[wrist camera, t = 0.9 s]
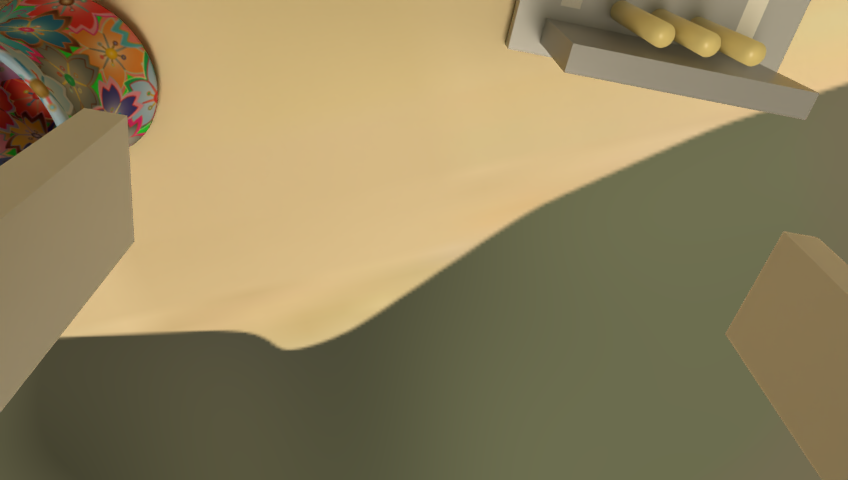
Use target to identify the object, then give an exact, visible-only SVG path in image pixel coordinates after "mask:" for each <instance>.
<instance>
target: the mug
mask: <svg viewBox="0 0 848 480" xmlns="http://www.w3.org/2000/svg"><path fill="white" fill-rule="evenodd" d="M157 101H158V87H157V80H156V75H155V72H154V68H153V65H152V63H151V60H150V58H149V56H148V54H147V52H146V50H145V49H144V47H143V45H142V44H141V42H140V41H139V39H138V38H137V37H136V35H135V34H134V33H133V32H132V31H131V29H130V28H129V27H128V26H127V25H126V24H125V23H124V22H123V21H122V20H120V19H119V18H118V17H117V16H116V15H114V14H113V13H112V12H110V11H109V10H107V9H106V8H104V7H103V6H101V5H99V4H97V3H95V2H93V1H91V0H13V1H11V2H10V3H8V4H7V5H6V6H5V7H4V8H3V9H2V10H1V11H0V166H1V165H3V164H4V163H5V162H7V161H8V160H10V159H11V158H13V157H14V156H16V155H17V154H18V153H20V152H21V151H23V150H24V149H26V148H27V147H29V146H30V145H31V144H33V143H34V142H36V141H37V140H39V139H40V138H42V137H43V136H44V135H46V134H47V133H49V132H50V131H52V130H53V129H55V128H56V127H57V126H59V125H60V124H62V123H63V122H65V121H66V120H68V119H69V118H70V117H72V116H73V115H75V114H76V113H78V112H79V111H81V110H82V109H83V108H87V109H93V110H99V111H104V112H110V113H116V114H121V115H127V119H128V137H129V147H130V146H132V145H133V144H134V143H136V142H137V141H138V140H139V139H140V138H141V137H142V136H143V135H144V134H145V133H146V131H147V130H148V128H149V127H150V125H151V123H152V121H153V118H154V115H155V112H156V108H157Z"/></svg>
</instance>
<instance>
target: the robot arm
mask: <svg viewBox="0 0 848 480" xmlns="http://www.w3.org/2000/svg"><path fill="white" fill-rule="evenodd" d="M133 242H134V227H133V209H132V191H131V173H130V155H129V137H128V119H127V115H121V114H116V113H110V112H104V111H99V110H93V109H87V108H83V109H82V110H81V111H79V112H78V113H76V114H75V115H73V116H72V117H70V118H69V119H68V120H66V121H65V122H63V123H62V124H60V125H59V126H57V127H56V128H55V129H53V130H52V131H50V132H49V133H47V134H46V135H44V136H43V137H42V138H40V139H39V140H37V141H36V142H34V143H33V144H31V145H30V146H29V147H27V148H26V149H24V150H23V151H21V152H20V153H18V154H17V155H16V156H14V157H13V158H11V159H10V160H8V161H7V162H5V163H4V164H3V165H1V166H0V412H1V411H2V409H3V408H4V407H5V406H6V404H7V403H8V402H9V401H10V399H11V398H12V397H13V395H14V394H15V393H16V392H17V390H18V389H19V388H20V386H21V385H22V384H23V383H24V381H25V380H26V379H27V377H28V376H29V375H30V374H31V372H32V371H33V370H34V369H35V367H36V366H37V365H38V363H39V362H40V361H41V360H42V358H43V357H44V356H45V355H46V353H47V352H48V351H49V349H50V348H51V347H52V346H53V344H54V343H55V342H56V341H57V339H58V338H59V337H60V335H61V334H62V333H63V332H64V330H65V329H66V328H67V327H68V325H69V324H70V323H71V321H72V320H73V319H74V318H75V316H76V315H77V314H78V312H79V311H80V310H81V309H82V307H83V306H84V305H85V304H86V302H87V301H88V300H89V298H90V297H91V296H92V295H93V293H94V292H95V291H96V290H97V288H98V287H99V286H100V284H101V283H102V282H103V281H104V279H105V278H106V277H107V276H108V274H109V273H110V272H111V270H112V269H113V268H114V267H115V265H116V264H117V263H118V261H119V260H120V259H121V258H122V256H123V255H124V254H125V253H126V251H127V250H128V249H129V247H130V246H131V245H132V244H133ZM725 334H726V336H727V338H728V339H729V341H730V342H731V343H732V345H733V346H734V348H735V350H736V351H737V353H738V354H739V356H740V357H741V359H742V360H743V362H744V363H745V364H746V366H747V368H748V369H749V371H750V372H751V374H752V375H753V377H754V378H755V380H756V381H757V383H758V384H759V386H760V388H761V389H762V391H763V392H764V394H765V395H766V397H767V398H768V400H769V401H770V403H771V404H772V406H773V407H774V409H775V410H776V412H777V413H778V415H779V416H780V418H781V419H782V421H783V422H784V424H785V425H786V427H787V428H788V430H789V431H790V433H791V434H792V436H793V437H794V439H795V440H796V442H797V443H798V445H799V447H800V448H801V450H802V451H803V453H804V454H805V456H806V457H807V459H808V460H809V462H810V463H811V465H812V466H813V467H814V469H815V471H816V472H817V474H818V475H819V477H820V478H821V480H848V265H847V264H846V263H845V262H844V261H843V260H842V259H841V258H840V257H838V256H837V255H836V254H835V253H834V252H833V251H832V250H831V249H830V248H829V247H828V246H827V245H825V244H824V243H823V242H822V241H821V240H820V239H819V238H817V237H813V236H807V235H802V234H796V233H790V232H785V231H784V232H783V233H782V235H781V236H780V238H779V240H778V242H777V244H776V245H775V247H774V249H773V251H772V252H771V254H770V256H769V258H768V259H767V261H766V263H765V265H764V266H763V268H762V270H761V272H760V274H759V275H758V277H757V279H756V281H755V283H754V284H753V286H752V288H751V289H750V291H749V293H748V295H747V296H746V298H745V300H744V302H743V303H742V305H741V307H740V309H739V311H738V312H737V314H736V316H735V318H734V319H733V321H732V323H731V325H730V326H729V328H728V330H727V332H726V333H725Z"/></svg>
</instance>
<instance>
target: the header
mask: <svg viewBox="0 0 848 480" xmlns="http://www.w3.org/2000/svg"><path fill="white" fill-rule="evenodd" d="M810 1H811V0H517V1H516V5H515V9H514V13H513V17H512V21H511V25H510V28H509V32H508V36H507V40H506V44H505V45H506V46H507V48H508V49H512V50H517V51H522V52H527V53H532V54H537V55H542V56H547V57H552V58H553V59H554V60H555V62H556V63H557V64H558V65H559V66H560V68H561V69H562V70H563V71H564V72H565V73H570V74H575V75H580V76H585V77H591V78H596V79H601V80H606V81H611V82H616V83H621V84H626V85H631V86H636V87H641V88H646V89H651V90H656V91H661V92H667V93H672V94H677V95H682V96H687V97H692V98H697V99H702V100H707V101H712V102H717V103H722V104H727V105H732V106H737V107H742V108H748V109H753V110H758V111H763V112H768V113H773V114H778V115H784V116H788V117H793V118H798V119H803V120H806V118H807V116H808V114H809V113H810V111H811V108H812V107H813V105H814V103H815V101H816V99H817V97H818V95H819V93H818V92H816V91H814V90H812V89H810V88H808V87H806V86H803V85H801V84H799V83H797V82H795V81H793V80H791V79H789V78H787V77H785V76H783V75H781V74H779V73H777V71H778V69H779V67H780V64H781V62H782V60H783V58H784V56H785V54H786V52H787V50H788V47H789V45H790V43H791V41H792V39H793V37H794V35H795V33H796V30H797V28H798V26H799V24H800V22H801V20H802V18H803V16H804V13H805V11H806V9H807V7H808V5H809V3H810Z"/></svg>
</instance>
